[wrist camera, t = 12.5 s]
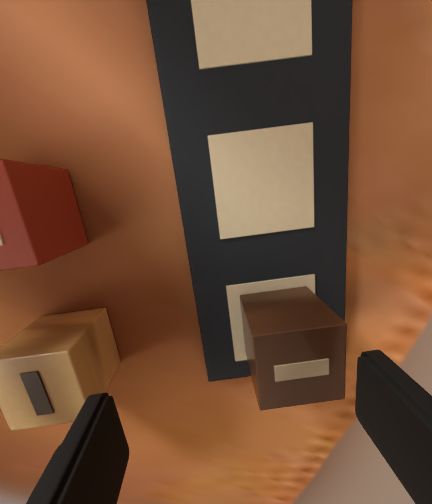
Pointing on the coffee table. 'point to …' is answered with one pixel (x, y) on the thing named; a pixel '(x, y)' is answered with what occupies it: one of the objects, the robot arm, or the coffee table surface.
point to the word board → (257, 152)
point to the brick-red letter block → (37, 215)
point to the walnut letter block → (293, 347)
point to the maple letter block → (56, 368)
